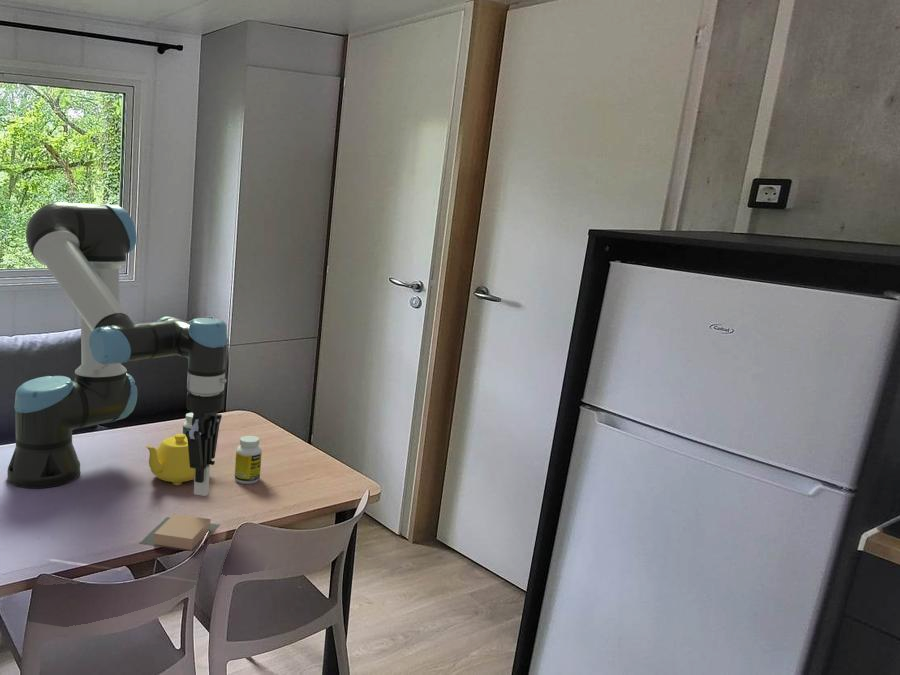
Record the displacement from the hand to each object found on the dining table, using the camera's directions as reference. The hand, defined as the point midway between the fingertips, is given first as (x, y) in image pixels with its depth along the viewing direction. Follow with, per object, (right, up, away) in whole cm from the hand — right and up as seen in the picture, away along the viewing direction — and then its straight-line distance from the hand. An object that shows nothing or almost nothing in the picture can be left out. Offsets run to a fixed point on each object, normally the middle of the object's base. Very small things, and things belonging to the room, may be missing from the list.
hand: (201, 493), depth 157 cm
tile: (-1, -5, -3) cm, 6 cm away
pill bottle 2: (+3, -2, +24) cm, 24 cm away
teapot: (-12, -1, +20) cm, 23 cm away
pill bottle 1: (-17, +4, +42) cm, 45 cm away
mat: (-2, -7, -6) cm, 10 cm away
